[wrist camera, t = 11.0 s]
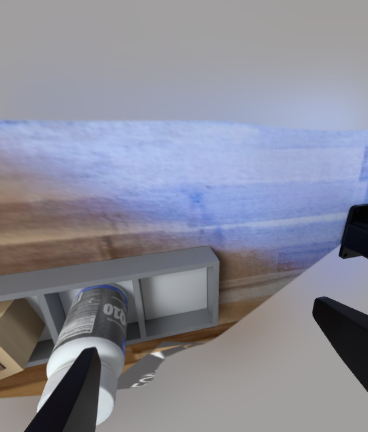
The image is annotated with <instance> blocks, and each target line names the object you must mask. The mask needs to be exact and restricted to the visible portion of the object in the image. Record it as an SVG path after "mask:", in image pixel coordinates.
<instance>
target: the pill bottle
mask: <svg viewBox="0 0 368 432" xmlns="http://www.w3.org/2000/svg"><path fill="white" fill-rule="evenodd" d="M127 313H128V299H127V296H126V294H125V292H124V291H123V290H122V289H121V288H120V287H119V286H117V285H115V284H113V283H110V284H104V285H98V286H92V287H86V288H82V289H81V290H80V291H79V292H78V293H77V295H76V296H75V299H74V301H73V303H72V306H71V308H70V310H69V313H68V316H67V318H66V320H65V323H64V325H63V328H62V330H61V332H60V335H59V337H58V340H57V342H56V345H55V347H54V349H53V351H52V354H51V356H50V358H49V361H48V365H47V377H48V381H47V383H46V386H45V388H44V391H43V394H42V396H41V399H40V402H39V405H38V409H37V413H38V412H39V410H40V409H41V407H42V406H43V405H44V403H45V402H46V400H47V399H48V398H49V396H50V395H51V393H52V392H53V391H54V389H55V388H56V386H57V385H58V384H59V382H60V381H61V379H62V378H63V377H64V375H65V374H66V373H67V371H68V370H69V368H70V367H71V366H72V364H73V363H74V361H75V360H76V359H77V357H78V356H79V354H80V353H81V352H82V350H83V349H85V348H89V347H96V348H97V351H98V354H99V357H100V360H101V377H100V389H99V401H98V412H97V421H96V426H97V425H99V424H100V423H102V422H103V421H104V420H106V419H107V418H108V417H109V416H110V414H111V413H112V411H113V409H114V405H115V398H116V391H117V379H118V377H119V376H120V374H121V372H122V370H123V366H124V360H125V343H126V327H127Z"/></svg>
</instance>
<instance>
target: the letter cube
mask: <svg viewBox="0 0 368 432" xmlns="http://www.w3.org/2000/svg"><path fill="white" fill-rule="evenodd" d="M45 326H46V324H45V323H44V322H43V320H42V319H41V318H40V317H39V315H38V314H37V313H36V312H35V310H34V309H33V308H32V307H31V305H30V304H29V303H28V302H27V300H26V299H25V298H19V299H13V300H7V301H0V379H3V378H5V377H8V376H10V375H13V374H15V373H18V372H20V371H23V370H24V368H25V366H26V364H27V362H28V360H29V358H30V356H31V354H32V352H33V350H34V348H35V346H36V344H37V342H38V340H39V338H40V336H41V334H42V332H43V330H44V328H45Z"/></svg>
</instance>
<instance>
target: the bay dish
mask: <svg viewBox="0 0 368 432" xmlns="http://www.w3.org/2000/svg"><path fill="white" fill-rule="evenodd" d="M110 283H113V284H115V285H117V286H119V287H120V288H121V289H122V290H123V291H124V292H125V294H126V296H127V299H128V313H127V327H126V343H125V346H126V345H131V344H135V343H140V342H145V341H149V340H154V339H158V338H163V337H167V336H172V335H177V334H181V333H186V332H190V331H195V330H199V329H204V328H209V327H213V326H218V302H219V260H218V258H217V257H216V255H215V254H214V252H213V251H212V249H211V248H210V246H203V247H196V248H189V249H183V250H176V251H169V252H162V253H155V254H148V255H141V256H134V257H127V258H120V259H113V260H106V261H99V262H92V263H85V264H78V265H72V266H65V267H58V268H51V269H44V270H37V271H30V272H23V273H16V274H9V275H2V276H0V301H7V300H13V299H19V298H25V299H26V300H27V302H28V303H29V304H30V305H31V307H32V308H33V309H34V310H35V312H36V313H37V314H38V315H39V317H40V318H41V319H42V320H43V322H44V323H45V324H46V326H45V328H44V330H43V332H42V334H41V336H40V338H39V340H38V342H37V344H36V346H35V348H34V350H33V352H32V354H31V356H30V358H29V360H28V362H27V364H26V366H25V368H26V367H30V366H35V365H39V364H44V363H48V361H49V358H50V356H51V354H52V351H53V349H54V347H55V345H56V342H57V340H58V337H59V335H60V332H61V330H62V328H63V325H64V323H65V320H66V318H67V316H68V313H69V310H70V308H71V306H72V303H73V301H74V299H75V296H76V295H77V293H78V292H79V291H80V290H81V289H82V288H86V287H92V286H98V285H104V284H110Z"/></svg>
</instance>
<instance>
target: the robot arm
mask: <svg viewBox="0 0 368 432" xmlns="http://www.w3.org/2000/svg"><path fill="white" fill-rule="evenodd" d="M357 256H363V257H365V258H367V259H368V204H361V205H354V206H352V207H351V209H350V212H349V216H348V220H347V224H346V228H345V232H344V236H343V240H342V243H341V247H340V252H339V257H341V258H343V259H346V258H352V257H357ZM312 314H313V317H314V319H315V321H316V322H317V324H318V325H319V326H320V328H321V330H322V331H323V332H324V334H325V336H326V337H327V339H328V340H329V342H330V343H331V345H332V346H333V348H334V349H335V350H336V352H337V353H338V355H339V356H340V357H341V358H342V360H343V361H344V363H345V364H346V365H347V366H348V368H349V369H350V370H351V371H352V373H353V374H354V375H355V377H356V378H357V379H358V380H359V382H360V383H361V384H362V385H363V387H364V388H365V389H366V390H367V392H368V315H367V314H364V313H362V312H360V311H357V310H355V309H353V308H350V307H348V306H346V305H344V304H341V303H339V302H337V301H335V300H333V299H330V298H328V297H319V298H316V299H315V302H314V306H313V311H312ZM100 377H101V360H100V357H99V354H98V351H97V348H96V347H89V348H85V349H83V350H82V352H81V353H80V354H79V356H78V357H77V359H76V360H75V361H74V363H73V364H72V366H71V367H70V368H69V370H68V371H67V373H66V374H65V375H64V377H63V378H62V379H61V381H60V382H59V384H58V385H57V386H56V388H55V389H54V391H53V392H52V393H51V395H50V396H49V398H48V399H47V400H46V402H45V403H44V405H43V406H42V407H41V409H40V410H39V412H38V413H37V415H36V416H35V417H34V419H33V420H32V421H31V423H30V424H29V426H28V427H27V428H26V430H25V431H24V432H95V428H96V421H97V412H98V401H99V389H100Z"/></svg>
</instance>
